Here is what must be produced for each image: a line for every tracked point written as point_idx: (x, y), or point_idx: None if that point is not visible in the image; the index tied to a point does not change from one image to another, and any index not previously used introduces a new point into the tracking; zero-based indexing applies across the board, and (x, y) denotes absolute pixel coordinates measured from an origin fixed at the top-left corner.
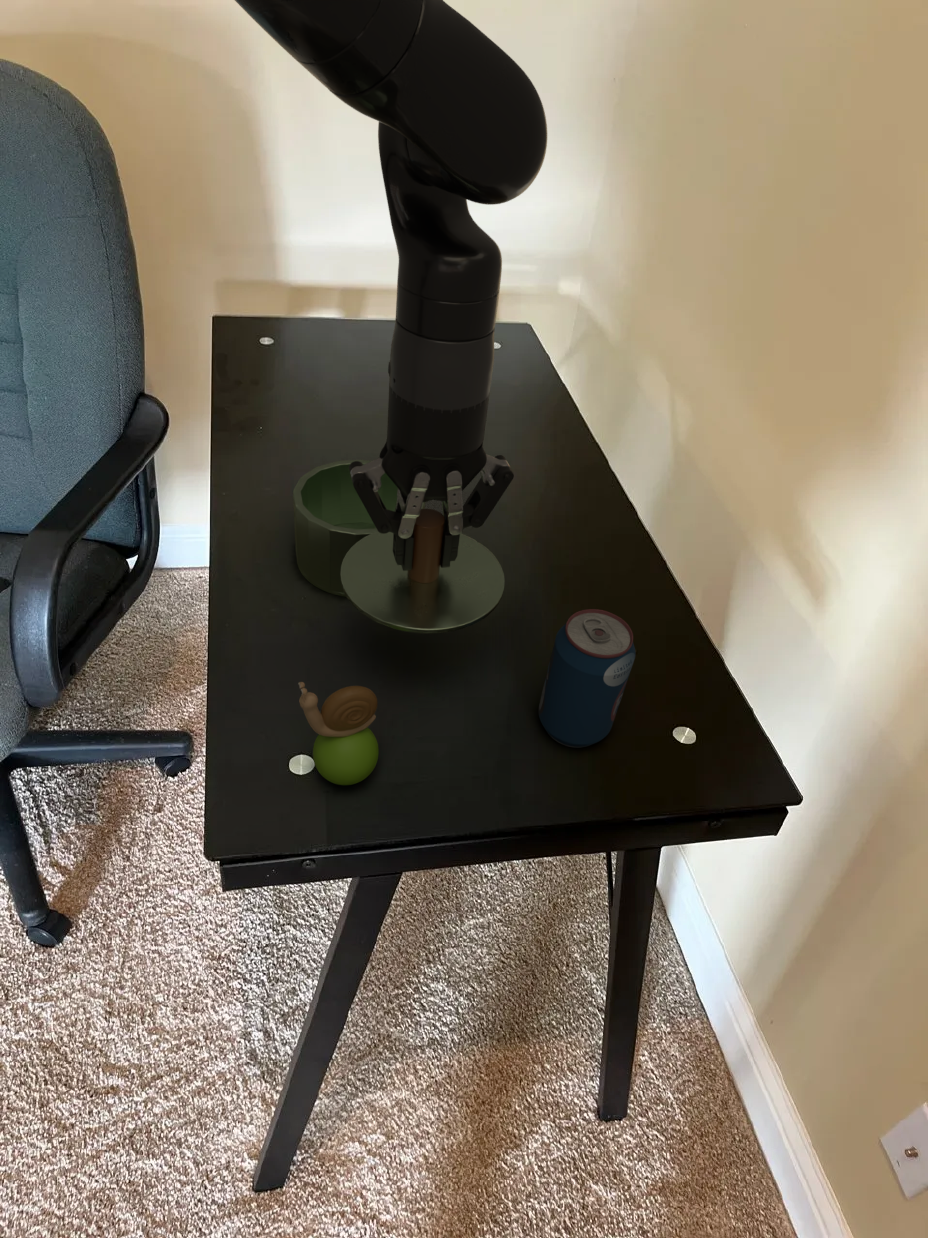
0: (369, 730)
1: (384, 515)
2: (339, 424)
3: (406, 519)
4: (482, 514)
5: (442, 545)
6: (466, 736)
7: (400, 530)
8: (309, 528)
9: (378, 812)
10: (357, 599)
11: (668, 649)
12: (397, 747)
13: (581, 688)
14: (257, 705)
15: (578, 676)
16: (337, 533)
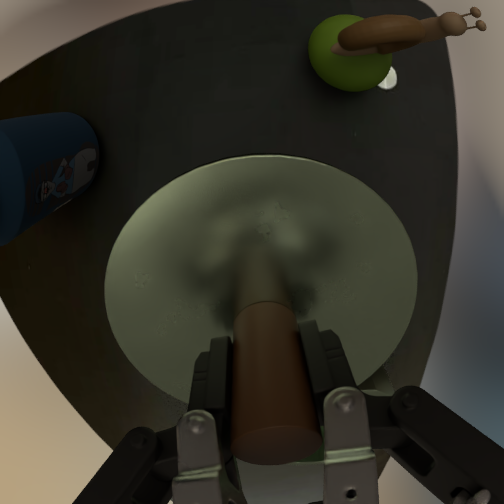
0: (329, 59)
1: (425, 435)
2: (313, 468)
3: (354, 441)
4: (124, 460)
5: (230, 383)
6: (188, 114)
7: (361, 405)
8: (390, 387)
9: (296, 8)
10: (401, 243)
11: (8, 270)
12: (277, 91)
13: (12, 120)
14: (428, 162)
15: (4, 124)
16: (366, 387)
